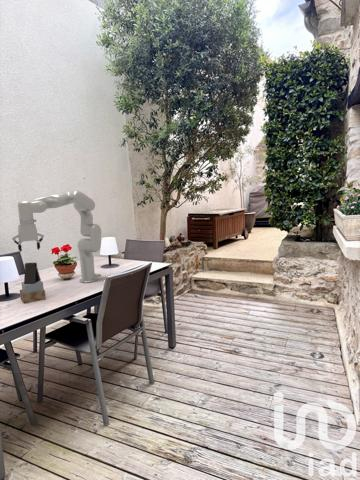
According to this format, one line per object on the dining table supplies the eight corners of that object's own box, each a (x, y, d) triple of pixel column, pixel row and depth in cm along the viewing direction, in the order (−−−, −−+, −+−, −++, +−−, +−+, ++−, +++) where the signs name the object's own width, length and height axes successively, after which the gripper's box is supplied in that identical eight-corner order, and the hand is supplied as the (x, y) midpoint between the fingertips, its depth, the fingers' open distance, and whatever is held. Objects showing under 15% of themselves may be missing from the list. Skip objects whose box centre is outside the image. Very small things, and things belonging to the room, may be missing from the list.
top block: (39, 286, 191) (38, 279, 190) (43, 290, 183) (42, 282, 182) (22, 289, 185) (21, 282, 184) (25, 293, 177) (24, 285, 176)
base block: (41, 295, 193) (40, 286, 192) (45, 299, 183) (44, 290, 182) (20, 299, 186) (19, 289, 185) (23, 304, 176) (22, 294, 176)
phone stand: (31, 280, 188) (29, 261, 186) (40, 279, 188) (38, 261, 186) (23, 284, 179) (21, 264, 177) (33, 283, 179) (31, 264, 177)
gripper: (41, 220, 187) (43, 247, 189) (9, 222, 177) (12, 251, 179) (43, 221, 181) (46, 249, 183) (11, 223, 171) (14, 253, 173)
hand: (29, 250), depth 181 cm, fingers open, 9 cm apart
